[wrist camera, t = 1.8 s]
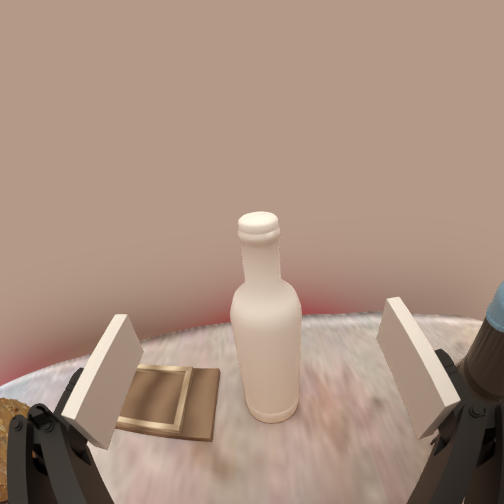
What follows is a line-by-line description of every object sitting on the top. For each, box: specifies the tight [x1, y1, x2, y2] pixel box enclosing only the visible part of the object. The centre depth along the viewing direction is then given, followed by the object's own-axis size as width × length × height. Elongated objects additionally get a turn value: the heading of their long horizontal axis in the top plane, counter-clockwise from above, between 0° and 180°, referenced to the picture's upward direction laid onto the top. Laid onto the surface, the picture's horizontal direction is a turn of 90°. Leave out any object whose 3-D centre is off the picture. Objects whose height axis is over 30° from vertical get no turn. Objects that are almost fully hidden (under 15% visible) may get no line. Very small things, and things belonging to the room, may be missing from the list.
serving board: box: [115, 364, 220, 442], centre depth 38 cm, size 22×14×2 cm, turn 89°
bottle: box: [230, 212, 302, 423], centre depth 31 cm, size 8×8×30 cm
